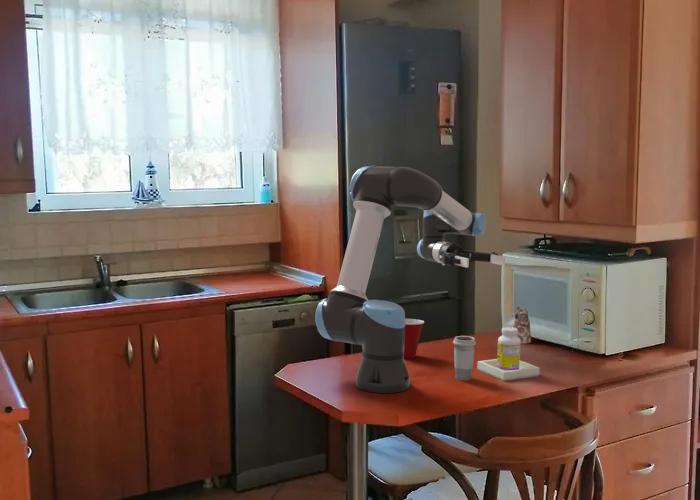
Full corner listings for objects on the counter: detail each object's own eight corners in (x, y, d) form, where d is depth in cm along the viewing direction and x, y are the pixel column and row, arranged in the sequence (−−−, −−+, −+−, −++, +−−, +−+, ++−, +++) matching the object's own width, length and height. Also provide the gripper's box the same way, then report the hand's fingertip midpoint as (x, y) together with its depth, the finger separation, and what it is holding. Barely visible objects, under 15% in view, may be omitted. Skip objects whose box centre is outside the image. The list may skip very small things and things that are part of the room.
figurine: (517, 343, 261) (518, 310, 260) (506, 339, 268) (507, 306, 267) (534, 342, 264) (536, 309, 262) (523, 337, 270) (525, 305, 269)
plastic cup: (423, 352, 248) (424, 316, 246) (423, 361, 237) (424, 324, 235) (390, 351, 249) (391, 315, 247) (388, 359, 238) (389, 322, 236)
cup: (472, 383, 215) (474, 342, 213) (449, 380, 217) (451, 339, 215) (476, 376, 221) (478, 336, 220) (453, 374, 223) (455, 334, 222)
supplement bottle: (498, 366, 230) (500, 325, 228) (520, 368, 228) (522, 327, 226) (495, 372, 224) (496, 330, 222) (517, 374, 222) (519, 332, 220)
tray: (503, 380, 217) (503, 372, 217) (477, 369, 229) (477, 361, 229) (539, 376, 223) (539, 367, 222) (511, 364, 234) (512, 357, 234)
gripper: (479, 263, 257) (518, 272, 238) (415, 266, 246) (451, 276, 227) (479, 241, 256) (519, 248, 237) (416, 243, 245) (452, 251, 226)
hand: (486, 262), depth 232 cm, fingers open, 13 cm apart
